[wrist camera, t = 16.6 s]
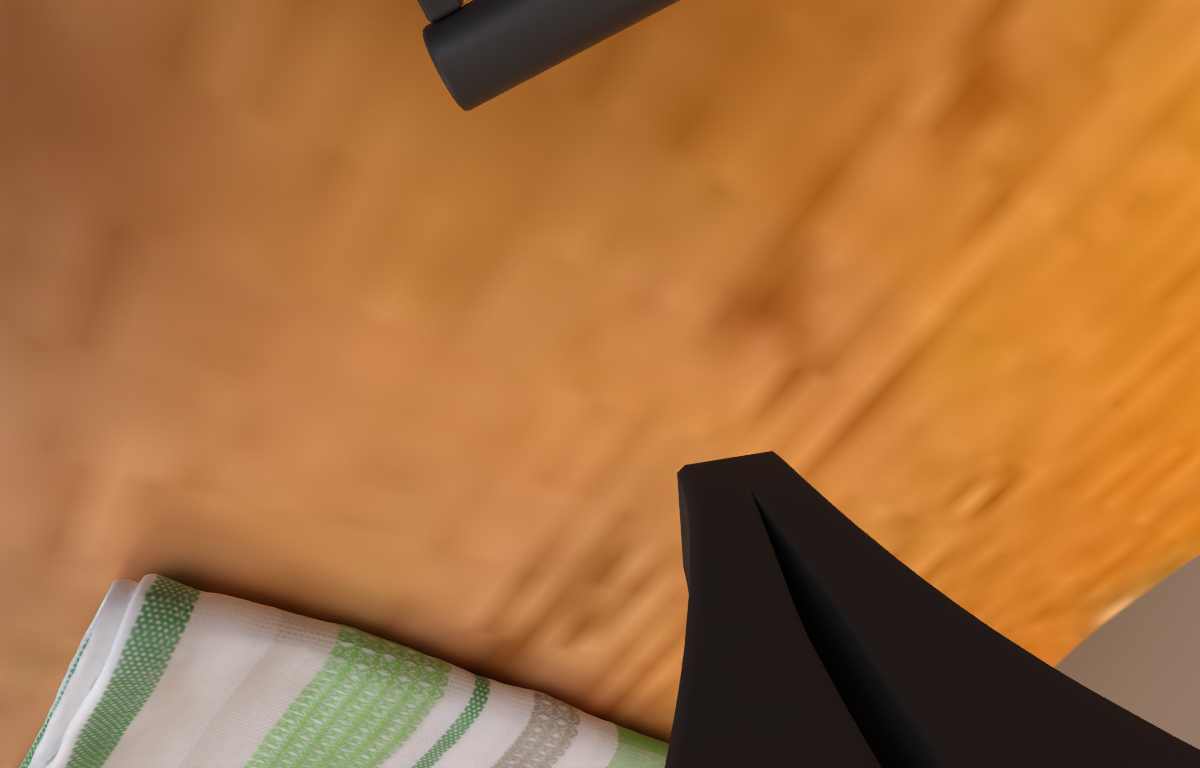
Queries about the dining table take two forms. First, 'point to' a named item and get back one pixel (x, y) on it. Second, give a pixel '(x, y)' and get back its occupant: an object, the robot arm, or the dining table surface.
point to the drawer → (517, 38)
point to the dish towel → (295, 697)
